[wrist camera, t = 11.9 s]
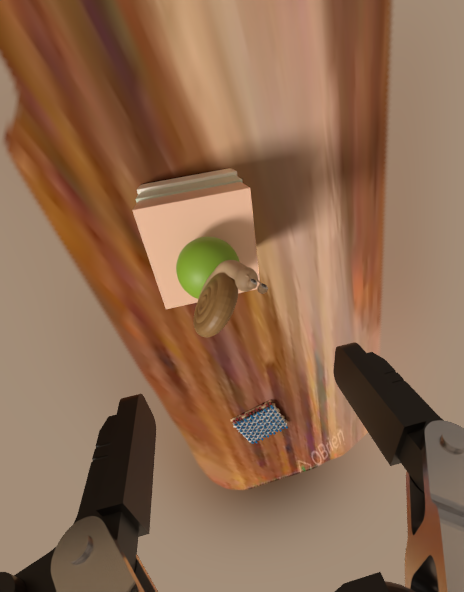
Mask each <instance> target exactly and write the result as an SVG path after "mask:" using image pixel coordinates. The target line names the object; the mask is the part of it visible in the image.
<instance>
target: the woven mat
mask: <svg viewBox="0 0 464 592" xmlns="http://www.w3.org/2000/svg"><path fill="white" fill-rule="evenodd" d="M271 402H272V401H271V400H270V401H268V402H266V403H264V404H262V405H260V406H258V407H256V408H253V409H251V410H249V411H247V412H245V414H244V413H243V414H242V415H239V416H237V417H235V418H233V419H231V422H232V421H233V425H234V426H233V427H235V428H237V430H239V431H238V432H240V433H241V434H243V436H244V437H246V439H247V440H249V442H251V443H254V441H255V443H257V441H256V439H257V440H260V439H259V438H261V440H263V438H262V436H263V437H266V435H267V437H269V435H268V434H271V435H272V432H273V434H274V435H275V432H274V431H277V432H278V430H280V432H281V431H282V430H281V428H283V429H284V426H285V427H286V428H288V427H287V422H288V421H287V420H285V421H284V420H283V419H284V416H283V415H281V414H280V413H279V412H280V410H279V409H278V408H276V407H275V403H271ZM268 404H269V405H268ZM258 409H259V410H258ZM272 409H273V410H272ZM251 412H253V413H251ZM248 414H249V415H248ZM275 414H276V415H275ZM239 418H240V419H239ZM236 420H237V421H236ZM275 420H276V421H275ZM269 423H270V424H269ZM279 425H280V426H279ZM271 426H272V427H271ZM276 426H277V427H276ZM270 429H271V430H270Z"/></svg>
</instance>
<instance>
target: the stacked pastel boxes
mask: <svg viewBox="0 0 464 592" xmlns="http://www.w3.org/2000/svg"><path fill="white" fill-rule="evenodd" d="M137 192H138V196H137V198H136V202H137V204H136V205H135V207H134V209H133V210H132V211H133V214H134V216H135V219H136V222H137V225H138V228H139V231H140V234H141V237H142V240H143V243H144V246H145V249H146V252H147V255H148V258H149V261H150V264H151V267H152V270H153V272H154V275H155V278H156V281H157V284H158V287H159V290H160V293H161V296H162V299H163V302H164V305H165V308H166V309H169V308H174V307H178V306H183V305H187V304H192V303H196V302H198V299H197V298H194V297H192V296H191V295H189V294H188V293H187V292H186V291H185V290H184V289H183V288H182V286H181V284H180V283H179V280H178V277H177V273H176V264H177V259H178V256H179V254H180V252H181V251H182V249H183V248H184V247H185V246H186V245H187V244H188V243H189V242H191V241H193V240H195V239H197V238H200V237H216V238H219V239H221V240H223V241H225V242H227V243H228V244H229V245H230V246H231V247H232V248H233V249H234V250H235V252H236V254H237V256H238V258H239V261H240V263H242V264H244V265H245V266H247V267H250V268H252V269H253V270H254V271H255V272H256V273H257V275H258V280H259V281H260V278H259V268H258V259H257V249H256V239H255V229H254V220H253V210H252V200H251V190H250V187H248V186H247V185H245V184H243V182H242V179H241V178H239V177H238V176H237V171H235V170H233V169H231V168H228V169H223V170H218V171H212V172H207V173H201V174H196V175H190V176H185V177H179V178H174V179H168V180H163V181H158V182H152V183H147V184H141V185H140V186H139V188H138V189H137ZM259 284H260V283H259V282H257V287H256V288H254V289H252V290H255V289H257V288H258V285H259ZM241 292H244V291H241V290H239V289H238V293H241Z"/></svg>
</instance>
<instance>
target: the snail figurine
mask: <svg viewBox="0 0 464 592" xmlns="http://www.w3.org/2000/svg"><path fill="white" fill-rule="evenodd" d="M176 273H177V277H178V280H179V283H180V284H181V286H182V288H183V289H184V290H185V291H186V292H187V293H188V294H189V295H191V296H192V297H194V298H197V299H198V302H197V305H196V308H195V313H194V328H195V330H196V332H197V333H198V334H199V335H200V336H202V337H211V336H214V335H216V334H217V333H219V332H220V331H221V330H222V329H223V328H224V326H225V325H226V324H227V322H228V321H229V319H230V317H231V315H232V313H233V311H234V308H235V305H236V302H237V298H238V289H239V290H241V291H244V292H246V291H250V290H252V289H254V288H256V287H257V282H259V283H260V281H259V280H258V275H257V273H256V272H255V271H254V270H253V269H252V268H250V267H247V266H245V265H244V264H242V263H240V261H239V258H238V256H237V254H236V252H235V250H234V249H233V248H232V247H231V246H230V245H229V244H228V243H227V242H225V241H223V240H221V239H219V238H216V237H200V238H197V239H195V240H193V241H191V242H189V243H188V244H187V245H186V246H185V247H184V248H183V249H182V251H181V252H180V254H179V256H178V259H177V264H176ZM257 289H258V292H259V293H261V294H264V293H266V292H267V290H268V288H267V286H266V285H265V284H263V283H262V284H261V283H260V284H259V285H258V288H257Z"/></svg>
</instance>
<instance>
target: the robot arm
mask: <svg viewBox="0 0 464 592" xmlns="http://www.w3.org/2000/svg"><path fill="white" fill-rule="evenodd" d="M334 377H335V380H336V383H337V385H338V387H339V388H340V390H341V391H342V393H343V394H344V396H345V397H346V399H347V400H348V402H349V403H350V405H351V407H352V408H353V410H354V411H355V413H356V414H357V416H358V417H359V419H360V420H361V422H362V423H363V425H364V426H365V428H366V429H367V431H368V432H369V434H370V435H371V437H372V439H373V440H374V442H375V443H376V445H377V446H378V448H379V449H380V451H381V452H382V454H383V455H384V457H385V458H386V460H387V461H388V463H389V464H390V466H392V465H395V464H399V463H402V465H403V466H404V468H405V469H406V470H407V472H406V491H407V524H408V540H407V547H406V553H405V587H404V586H402V585H399V584H395V583H392V582H385V581H384V579H383V577H382V575H381V573H380V572H379V573H375V574H373V575H369V576H366V577H363V578H360V579H357V580H354V581H350V582H347V583H345V584H343V585H342V586H341V587H340V588H338V589H337V590H336V591H335V592H464V428H462V427H461V426H459V425H457V424H454V423H451V422H448V421H444V420H443V419H441V418H440V417H439V416H438V415H437V414H436V413H435V412H434V411H433V410H432V409H431V408H430V407H429V405H428V404H427V403H426V402H425V401H424V400H423V399H422V398H421V397H420V396H419V395H418V394H417V393H416V392H415V391H414V390H413V389H412V388H411V387H410V385H409V384H408V383H406V382H405V381H404V380H403V378H402V377H401V376H400V375H399V374H398V373H396V372H395V370H394V369H393V368H392V366H390V364H389V363H388V362H387V361H386V360H385V359H383V358H381V357H380V356H378V355H376V354H374V353H373V352H370V353H366V352H365V351H364V350H363V349H362V348H361V347H360V346H359V345H358V344H357V343H350V344H346V345H342V346H338V347H336V351H335V362H334ZM155 438H156V424H155V419H154V416H153V414H152V412H151V410H150V408H149V406H148V404H147V402H146V400H145V398H144V396H143V395H142V394H139V395H134V396H130V397H126V398H122V399H121V400H120V402H119V406H118V411H117V415H113V416H109V417H108V418H107V420H106V422H105V423H104V425H103V426H102V428H101V430H100V431H99V435H98V439H97V443H96V449H95V451H94V455H93V458H92V459H93V462H92V463H91V466H90V470H89V473H88V477H87V481H86V485H85V489H84V493H83V496H82V500H81V504H80V508H79V512H78V515H77V518H76V520H75V522H74V524H73V525H72V526H71V527H70V528H69V529H68V530H67V531H66V532H65V534H64V535H63V537H62V538H61V539H60V541H59V543H58V545H57V546H56V547H55V548H54V549H53V550H52V551H50V552H49V553H48V554H46V555H45V556H43V557H42V558H40V559H39V560H37V561H36V562H34V563H32V564H31V565H29V566H28V567H26V568H25V569H23V570H22V571H20V572H19V573H18V574H16V575H14V576H13V575H11V574H9V573H6V572H0V592H158V590H157V589H156V587H155V585H154V584H153V582H152V580H151V578H150V576H149V575H148V573H147V571H146V569H145V568H144V566H143V564H142V562H141V561H140V559H139V557H138V555H137V544H138V537H139V536H143V535H146V534H149V527H150V513H151V498H152V484H153V469H154V454H155V440H156V439H155Z"/></svg>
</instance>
